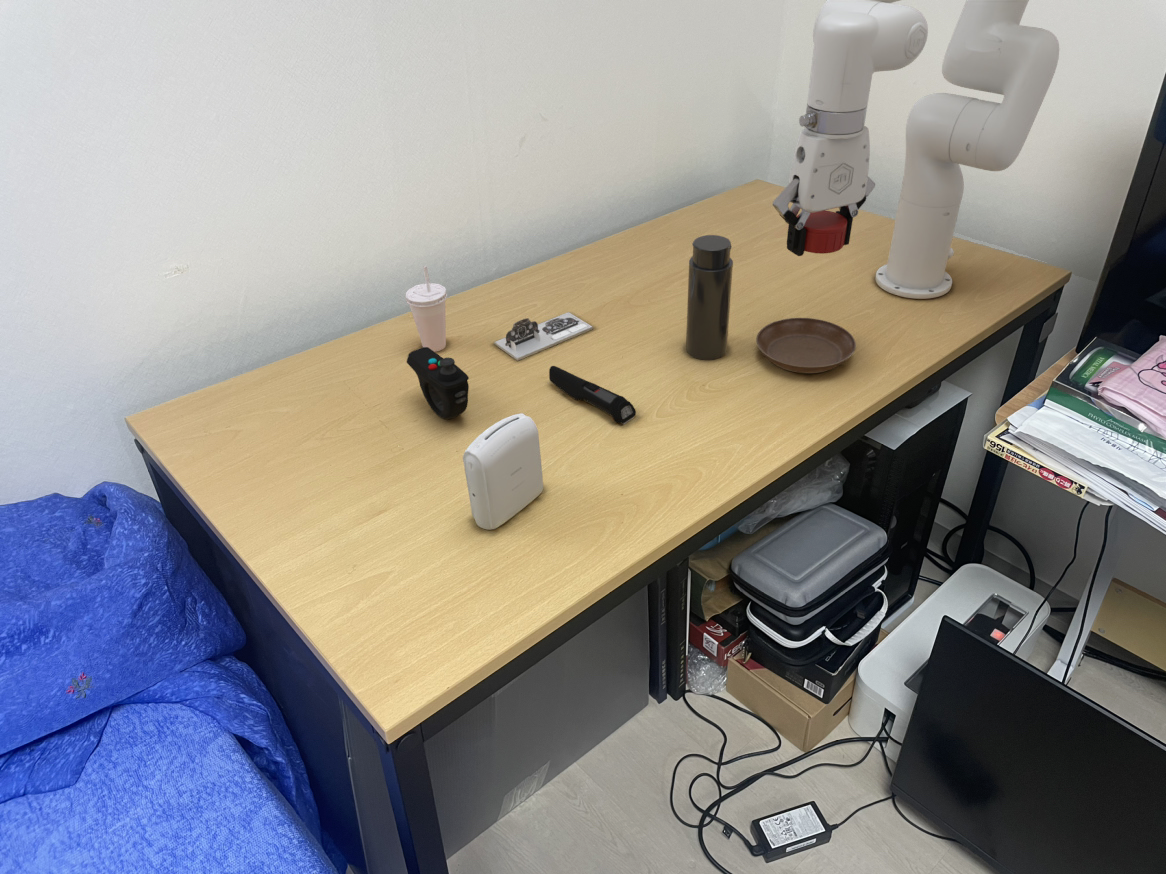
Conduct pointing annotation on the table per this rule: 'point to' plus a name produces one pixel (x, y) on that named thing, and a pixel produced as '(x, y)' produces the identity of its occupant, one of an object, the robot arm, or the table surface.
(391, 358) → the table surface
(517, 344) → the car cutout
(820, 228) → the lid
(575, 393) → the electric trimmer
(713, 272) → the thermos
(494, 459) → the photo printer
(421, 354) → the controller
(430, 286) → the smoothie
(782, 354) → the saucer
